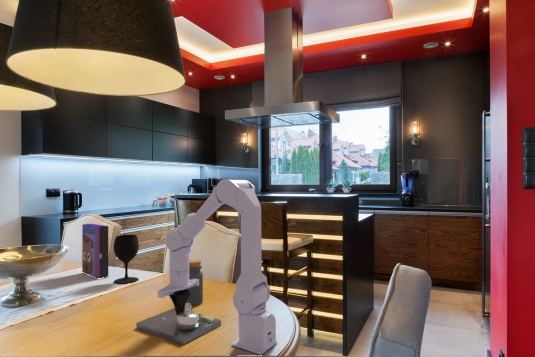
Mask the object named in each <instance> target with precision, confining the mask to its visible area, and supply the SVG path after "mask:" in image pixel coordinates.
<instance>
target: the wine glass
mask: <svg viewBox="0 0 535 357" xmlns="http://www.w3.org/2000/svg"><path fill="white" fill-rule="evenodd" d="M138 238H139V237H138V235H137V234H121V235H116V236H115V237H114V242H113V252H114V253H113V254H114V256H115V257H116V258H117V259H118V260H119V261H121V262H122V263H123V264H124V277H120V278H117V279H115V280H113V284H115V283H116V284H115V285H129V284H128V283H130V284H133V282H134V283H137V282H139V277H136V276H129V272H128V271H129V269H128V268H129V263H130V262H131V261H132V260H134V258H136V256H137V254H138V252H139V248H140V246H139V245H140V243H139V239H138ZM136 281H137V282H136Z"/></svg>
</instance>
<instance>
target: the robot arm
mask: <svg viewBox="0 0 535 357" xmlns="http://www.w3.org/2000/svg"><path fill="white" fill-rule="evenodd" d="M211 192H212V193H211V194H210V195H209V196H208V197H207V199H206V200H205V202H203V204H202V205H201V206H200V208H198V210H197V212H191V213H189V214H187V215H185V219H184V220H183V221H182V222H181V224H179V225H177V227H176V229H175V230H169V231H168V232H167V234H166V235H165V240H164V241H165V245H166V247H167V249H168V250H169V282H168V285H166V286H164V287H163V288H160V289H158V290H157V298H160V299H164V298H165V297H167V296H169V299H170V300H171V301H172V303H173V308H175V311H176V315H178V314H180V313H182V312H184V310H185V306H186V302H187V299H188V297H189V296H190V291H189V290H187V289H188V288H191V287H194V286H199V279H191V280H189V261H190V252H191V247H192V245H193V243H194V239H195V238H196V237H197V236H198V234H200V232H202V230H203V229H204V228H205V226H206V220H207V219H209V218H210V217H211V216H212V215H213V214H214V213H215V212H216V211H217V210H218V209H219V208H220V207H221V206H222V205H227V206H229V207H231V208H233V209H234V210H235V211H237V213H238V214H239V215H240V276H239V277H238V279H237V281H236V284H235V291H234V293H233V297H232V303H233V306H234V308H235V310H236V311H237V313H238V339H236V340H235V341H233V342H232V343H231V346H233V347H236V348H239V349H243V350H246V351H248V352H250V353H254V354H257V355H263V354H264V353H265V352H267V351H268V350H270V349H271V348H272V347H274V346H275V345H276V344H277V343H278V340H277V339H276V338H277V330H276V327H277V325H276V321H277V320H276V318H275V315H274V314H273V313H270V312H269V311H268V310H267V308H266V307H267V302H268V301H269V299H270V297H271V290H270V287H269V285H268V278H267V276H266V275H265V274H264V273H263V272H262V270H263V269H262V265H263V264H262V261H263V260H262V206H261V203H260V201H259V199H258V196H257V194H256V186H254V184H252V183H251V182H250V181H248V179H247V180H246V179H228V178H224V179H221V180H220V181H219V182H218V183H217V185H215V186H213V188H212V191H211Z"/></svg>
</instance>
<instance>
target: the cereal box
mask: <svg viewBox="0 0 535 357" xmlns="http://www.w3.org/2000/svg"><path fill="white" fill-rule="evenodd" d="M81 227H82V228H81V231H82V233H81V237H82V238H81V240H82V243H81V245H82V247H81V248H82V250H81V251H82V252H81V255H82V256H81V259H82V261H81V262H82V263H81V264H82V265H81V268H82V269H81V270H82V271H81V272H84V273H86V274H89V275H91V276H93V277H96V278H102V277H107V276H108V277H109V225H104V224H96V223H85V224H83V223H82V226H81ZM93 277H92V278H93ZM108 277H107V278H108ZM102 279H103V278H102Z"/></svg>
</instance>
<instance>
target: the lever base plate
mask: <svg viewBox="0 0 535 357" xmlns="http://www.w3.org/2000/svg"><path fill="white" fill-rule="evenodd" d="M184 312H185V309H184ZM135 324H136V325H135V327H136V329H138V330H141V331H143V332H145V333H146V332H147V333H149V334H152V335H154V336H156V337H160V338H162V339H165V340H168V341H170V342H173V343H176V344H179V345H182V346H184V345H186V344H189V343H191V342H192V341H194V340H196V339H197V338H200V337H201V336H203V335H205V334H208V333H209V332H210V331H213V330H214V329H216V328H219V327H221V326H222V320H221V319H218V318H216V317H213V316H210V315H206V314H201V313H199V326H198V327H196V328H194V329H190V330H181V329H179V328H178V327H177V315H176V311H175V307H173V308H171V309H169V310H165V311H163V312H160V313H159V314H155V315H153V316H151V317H148V318H146V319H143V320H140V321H138V322H136V323H135Z"/></svg>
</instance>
